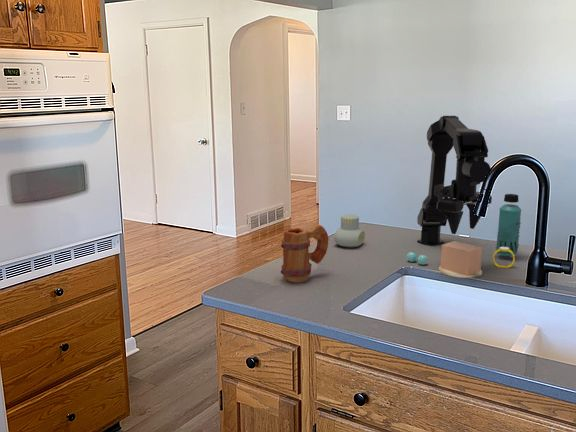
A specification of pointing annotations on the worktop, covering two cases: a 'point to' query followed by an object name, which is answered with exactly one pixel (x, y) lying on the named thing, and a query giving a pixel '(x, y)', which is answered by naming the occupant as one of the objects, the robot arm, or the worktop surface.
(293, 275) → the mug
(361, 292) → the worktop surface
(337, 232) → the air freshener
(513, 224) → the beverage bottle
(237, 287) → the worktop surface
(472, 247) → the salmon pink block
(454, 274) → the coaster
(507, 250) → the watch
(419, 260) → the marble
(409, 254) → the marble
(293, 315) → the worktop surface
